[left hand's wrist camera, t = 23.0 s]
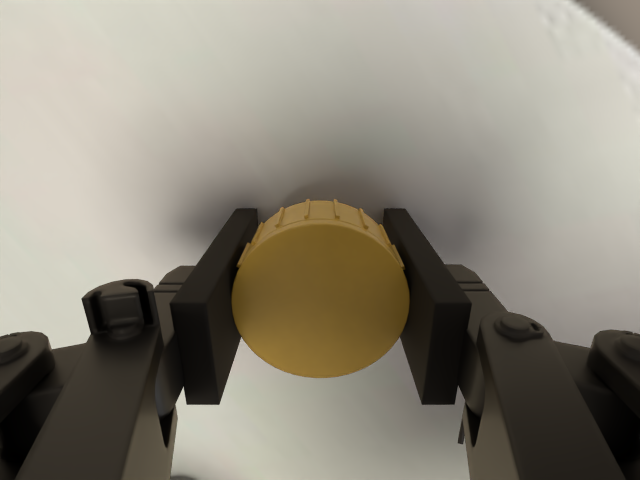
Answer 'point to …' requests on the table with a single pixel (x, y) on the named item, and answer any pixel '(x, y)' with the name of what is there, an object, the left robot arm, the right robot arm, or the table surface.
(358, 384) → the table surface
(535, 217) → the table surface
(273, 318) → the lid
